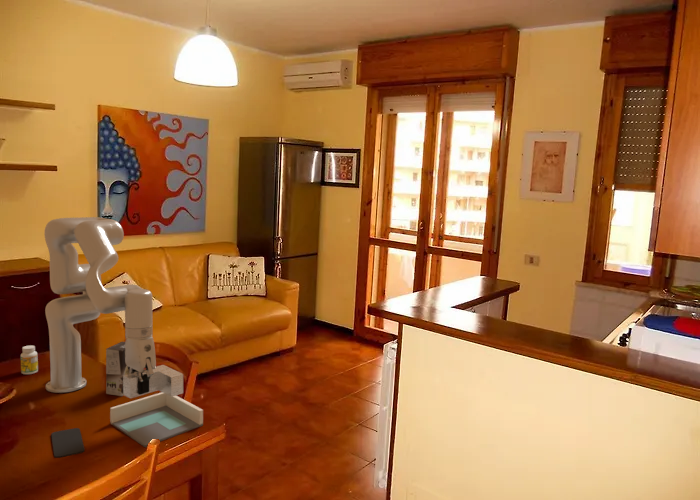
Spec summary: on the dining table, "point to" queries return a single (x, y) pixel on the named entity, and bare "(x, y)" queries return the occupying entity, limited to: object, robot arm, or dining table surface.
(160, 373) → the aluminium bracket
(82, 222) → the robot arm
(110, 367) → the coffee box
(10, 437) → the dining table surface
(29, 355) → the supplement bottle
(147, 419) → the corner arena
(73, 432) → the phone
